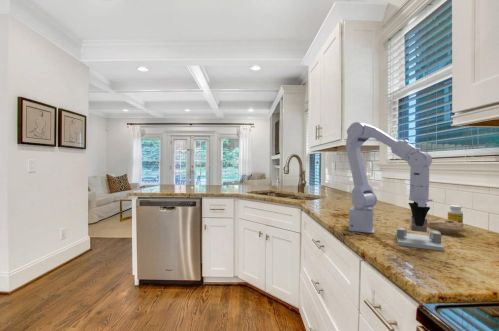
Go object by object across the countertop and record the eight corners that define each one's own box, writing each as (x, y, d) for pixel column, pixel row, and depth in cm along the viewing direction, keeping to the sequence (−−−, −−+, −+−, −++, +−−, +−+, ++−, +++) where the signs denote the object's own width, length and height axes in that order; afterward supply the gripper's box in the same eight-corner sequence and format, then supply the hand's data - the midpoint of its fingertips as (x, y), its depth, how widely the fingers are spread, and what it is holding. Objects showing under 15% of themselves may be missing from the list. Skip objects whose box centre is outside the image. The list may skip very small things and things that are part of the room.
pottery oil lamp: (423, 227, 117) (429, 213, 118) (455, 241, 112) (462, 226, 113) (427, 224, 110) (433, 209, 111) (462, 239, 104) (469, 222, 105)
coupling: (411, 230, 96) (411, 217, 96) (409, 227, 100) (410, 215, 100) (426, 232, 94) (427, 219, 94) (424, 229, 98) (425, 216, 98)
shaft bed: (398, 245, 94) (398, 232, 94) (395, 235, 106) (395, 223, 106) (444, 251, 88) (444, 237, 88) (435, 239, 101) (435, 227, 101)
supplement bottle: (450, 225, 124) (451, 204, 123) (464, 228, 119) (465, 206, 119) (445, 227, 121) (445, 205, 120) (459, 230, 116) (460, 207, 116)
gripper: (437, 188, 89) (435, 230, 89) (428, 184, 102) (427, 221, 102) (411, 187, 92) (410, 227, 92) (407, 183, 105) (406, 219, 105)
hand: (418, 224), depth 97 cm, fingers closed on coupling, 5 cm apart
